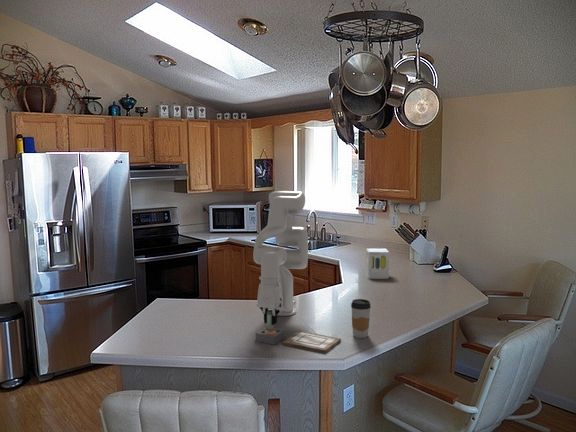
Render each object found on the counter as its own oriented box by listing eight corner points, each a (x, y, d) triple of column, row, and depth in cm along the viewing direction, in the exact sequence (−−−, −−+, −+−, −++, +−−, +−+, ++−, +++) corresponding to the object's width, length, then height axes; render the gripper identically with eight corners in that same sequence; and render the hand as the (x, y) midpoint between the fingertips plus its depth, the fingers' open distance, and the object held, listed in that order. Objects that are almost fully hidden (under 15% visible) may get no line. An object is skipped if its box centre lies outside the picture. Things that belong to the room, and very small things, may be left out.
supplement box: (367, 278, 314) (368, 251, 313) (365, 274, 328) (365, 248, 326) (388, 278, 314) (389, 251, 312) (385, 274, 327) (386, 248, 325)
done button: (268, 333, 210) (268, 328, 210) (278, 335, 207) (278, 330, 207) (262, 336, 206) (262, 332, 205) (272, 338, 203) (272, 334, 203)
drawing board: (300, 333, 214) (300, 330, 214) (340, 341, 204) (340, 338, 204) (282, 344, 201) (282, 341, 201) (325, 353, 191) (325, 350, 191)
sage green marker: (269, 327, 209) (269, 309, 208) (275, 328, 207) (275, 310, 206) (265, 329, 206) (265, 311, 205) (271, 331, 205) (271, 312, 204)
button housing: (267, 334, 213) (267, 326, 212) (285, 337, 208) (285, 330, 208) (255, 340, 205) (255, 332, 205) (274, 344, 201) (274, 336, 200)
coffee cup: (368, 332, 216) (368, 298, 214) (371, 338, 207) (372, 304, 206) (349, 332, 215) (349, 298, 214) (352, 339, 207) (352, 304, 205)
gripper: (248, 280, 205) (249, 322, 207) (282, 285, 197) (282, 329, 199) (258, 276, 212) (259, 317, 214) (291, 280, 204) (291, 323, 206)
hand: (270, 322), depth 207 cm, fingers closed on sage green marker, 3 cm apart
